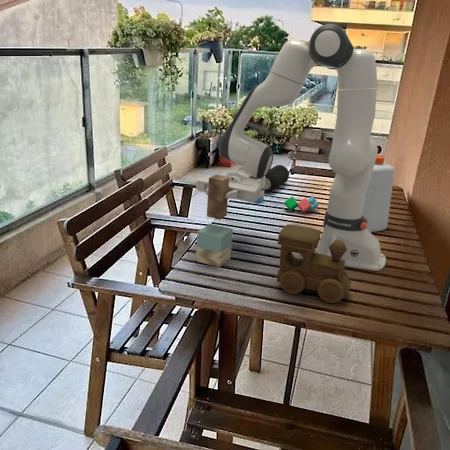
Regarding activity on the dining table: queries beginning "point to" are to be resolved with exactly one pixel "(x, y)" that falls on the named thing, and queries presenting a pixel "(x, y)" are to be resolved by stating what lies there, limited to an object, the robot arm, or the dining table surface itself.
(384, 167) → the plastic bottle
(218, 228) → the upper block
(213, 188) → the walnut post
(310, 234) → the wooden toy train
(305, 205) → the building blocks
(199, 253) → the lower block
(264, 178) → the ink box
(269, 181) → the portable speaker
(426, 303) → the dining table surface
